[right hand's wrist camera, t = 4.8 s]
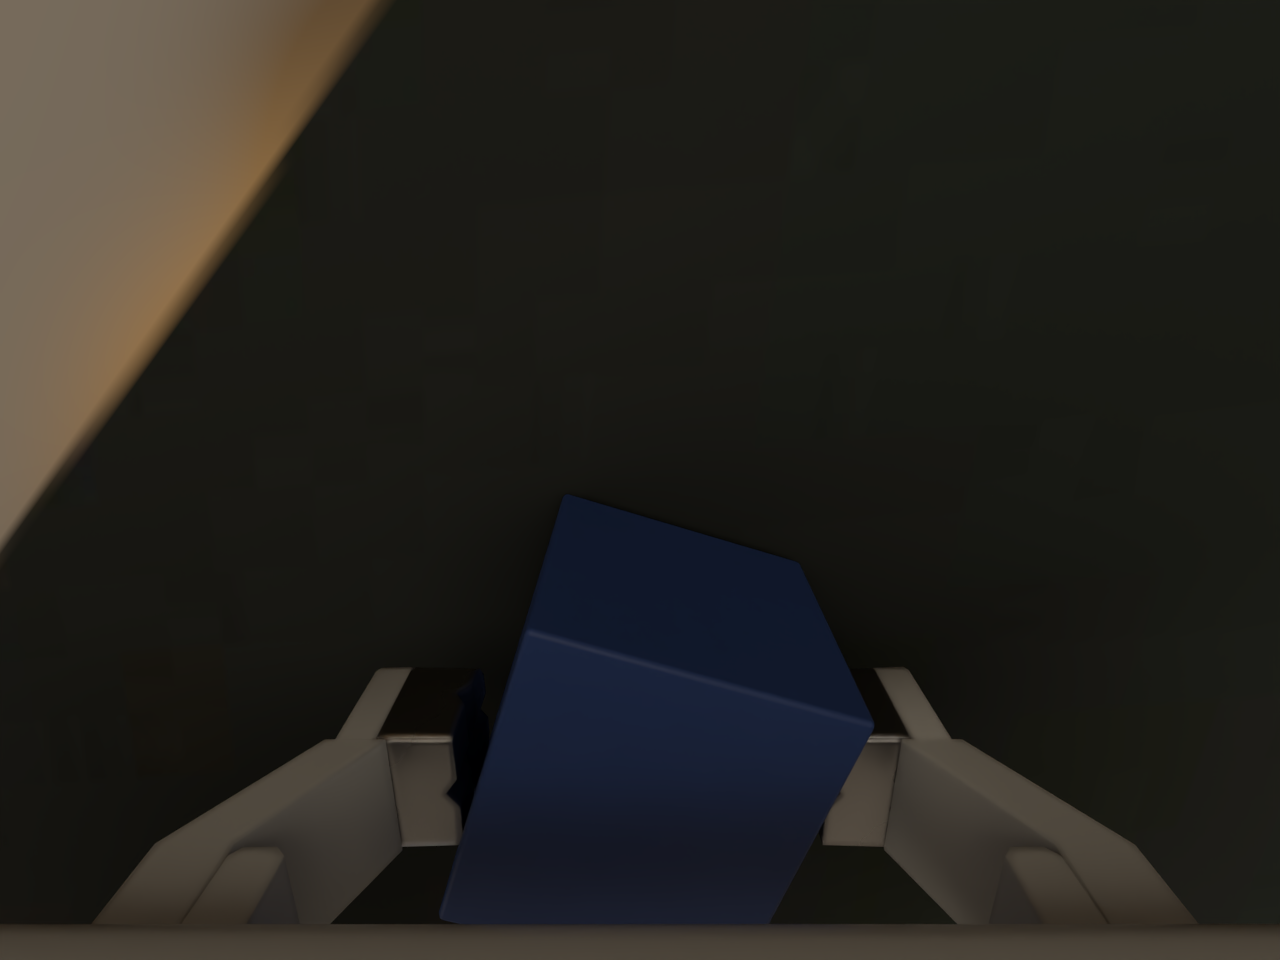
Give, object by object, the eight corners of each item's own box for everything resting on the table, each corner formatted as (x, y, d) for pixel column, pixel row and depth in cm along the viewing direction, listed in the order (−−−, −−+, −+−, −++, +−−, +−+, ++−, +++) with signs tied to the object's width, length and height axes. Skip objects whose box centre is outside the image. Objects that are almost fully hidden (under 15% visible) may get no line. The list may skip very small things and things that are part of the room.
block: (708, 766, 13) (737, 988, 9) (498, 711, 13) (436, 921, 9) (800, 560, 12) (878, 726, 8) (564, 491, 11) (525, 629, 7)
